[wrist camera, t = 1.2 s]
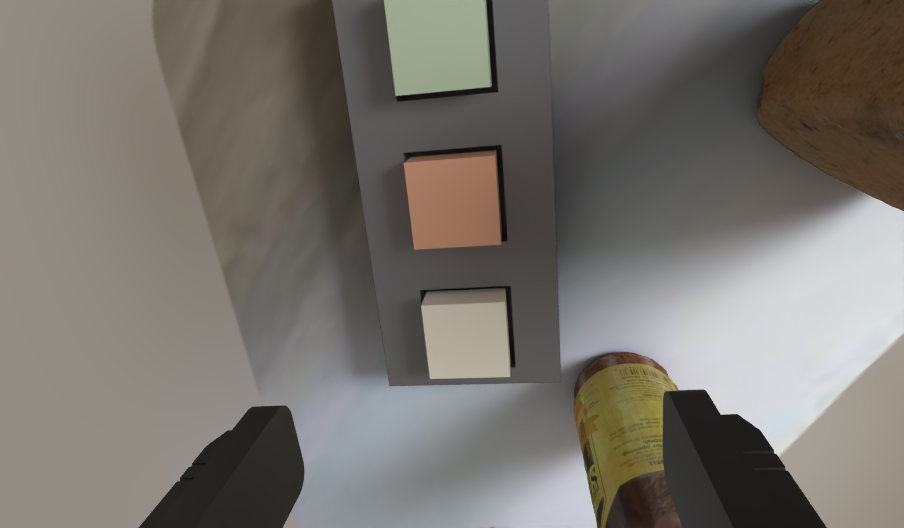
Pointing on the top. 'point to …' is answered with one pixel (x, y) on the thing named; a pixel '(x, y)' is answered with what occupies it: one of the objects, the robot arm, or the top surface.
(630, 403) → the sauce bottle
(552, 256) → the button panel
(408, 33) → the sage button
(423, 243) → the terracotta button
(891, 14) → the brown sandstone rock
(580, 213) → the top surface
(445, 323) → the cream button
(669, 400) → the robot arm
